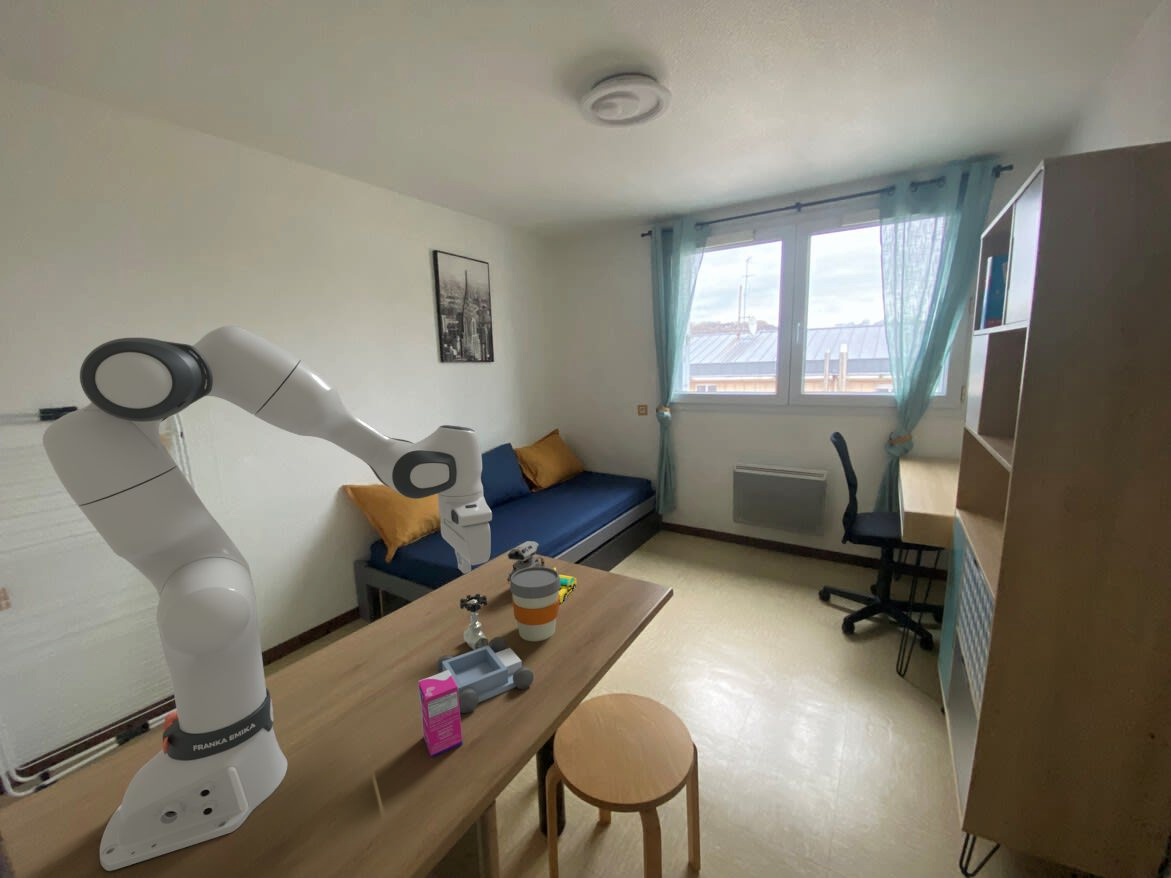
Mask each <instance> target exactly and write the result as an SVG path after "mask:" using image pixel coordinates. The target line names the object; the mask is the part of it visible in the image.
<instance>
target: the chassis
mask: <svg viewBox="0 0 1171 878" xmlns="http://www.w3.org/2000/svg"><path fill="white" fill-rule="evenodd" d="M507 647H508V645H507V642H506V641H505V640H504V638H502V637H501V636H496V637H493V638H492V639H491V640H490V641H489V642H488V646H485V647H482V648H479V649H476V650H471V651H468V652H466V653H462V654H460V655H457V656H454V657H453V656H452V655H451V654H444V655H442V656H440V657H439V659H437V661H436V663H435V668H436V671H437V672H438V673H437V674H439V673H441V672H444V671H446V670H449V671H450V673H451V675H452V677H453V678H454V680H455V682H456V684H457V686H458V695H459V707H460V713H462V714H469V713H471V712H473V711H474V710H475V709H476V708H477V707H478V705H479V703H481V702H484V701H485V700H486V701H487V700H488V699H491V698H493V697H495V696H498V695H500V694H502V693H505V692H507V691H510V690H512V689H514V688H516V687H517V688H518V689H519V690H525V689H527V688H529V687H530V686H531V685H532V684H533V681H534V672H532V670H531V669H530V667H528V666H525V665H523V663H522V659H520V657H519V656H518V655H517V654H516V653H515V651H514V650H513V649H512V648H510V647H508V648H507Z"/></svg>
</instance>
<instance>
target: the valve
mask: <svg viewBox="0 0 1171 878" xmlns="http://www.w3.org/2000/svg"><path fill="white" fill-rule="evenodd" d="M482 605H483V606H484V607H485V606H487V605H488V598H487V595H482V596H481V594H480V593H475V594H474V596H472V595H471V594H467V595H466V598H461V599H460V600H459V608H460V609H461V610H463V609H466V611H467V612H470V614H469V616H470V617H469V618H470V619H469V620H470V621H471V622H470V623H469V624H468V627H467V628H466V629H464V631H463V640H464V641H465V642H466V644H467V645H468V647H469V648H471V649H472V651H474V650H476V649H479V648H482V647H485V646H488V645H489V639H488V638H487V636H486V635H485V634H484V632H483V631H482V623H481V622H480V621H479V617H480V616H479V613H478V611H479V610H481V609H482Z"/></svg>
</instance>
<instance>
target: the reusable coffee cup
mask: <svg viewBox="0 0 1171 878" xmlns="http://www.w3.org/2000/svg"><path fill="white" fill-rule="evenodd" d="M559 575H560V574H559V572H558V571H557V569H556V570H554V568H552V567H549V566H548V567H547V566H545V567H528V568H524V569H521V570H518V571H517V572H515V573H514V574H513V575H512V576H511V581H510V582H509V586H510V587H509V590H510V592H511V596H512V597H511V603H512V604H511V606H512V609H513V610H512V611H513V615H514V619H515V620H516V623H517V627H518V629H517V630H518V633H519V636H520V638H522V639H523V640H525V641H529V642H541V641H544V640H547V639H550V638H551V637H552V636H553V635H554V634H555V631H556V625H557V624H556V623H557V617H558V615H559V609H560V603H559V601H560V595H559V589H560V587H561V584H560V577H559Z"/></svg>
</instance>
